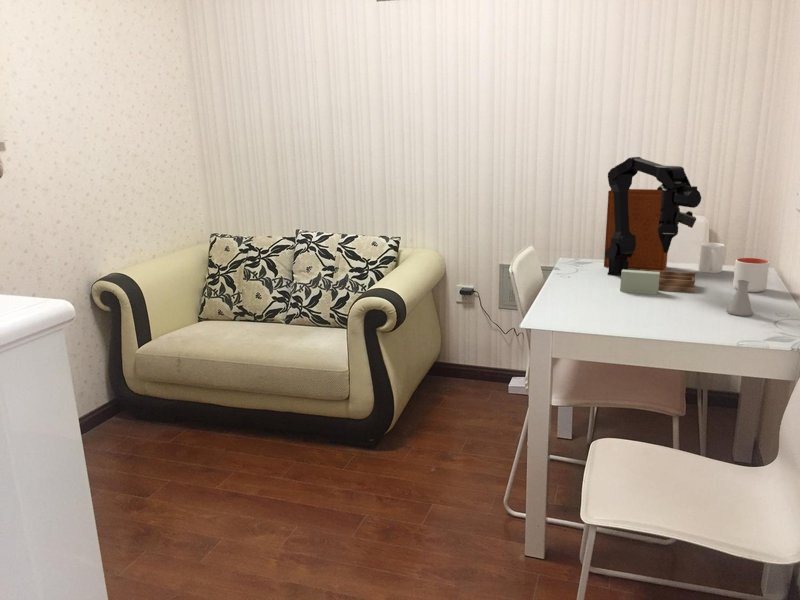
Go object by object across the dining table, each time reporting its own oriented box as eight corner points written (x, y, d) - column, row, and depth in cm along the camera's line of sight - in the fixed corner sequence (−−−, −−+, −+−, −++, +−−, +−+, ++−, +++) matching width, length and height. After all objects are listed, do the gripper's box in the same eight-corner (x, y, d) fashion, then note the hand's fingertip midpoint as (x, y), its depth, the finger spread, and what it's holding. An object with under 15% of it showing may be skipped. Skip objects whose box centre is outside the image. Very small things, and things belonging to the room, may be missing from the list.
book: (603, 266, 264) (608, 190, 257) (606, 262, 272) (610, 188, 264) (665, 270, 256) (672, 192, 248) (666, 266, 263) (673, 189, 255)
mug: (723, 276, 245) (726, 248, 242) (698, 274, 248) (701, 247, 245) (721, 269, 256) (724, 243, 253) (697, 268, 259) (700, 242, 256)
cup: (768, 294, 220) (771, 264, 217) (734, 292, 223) (738, 263, 220) (762, 287, 229) (766, 258, 226) (730, 285, 232) (734, 257, 230)
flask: (753, 311, 201) (757, 279, 198) (752, 318, 195) (756, 284, 192) (727, 308, 204) (731, 277, 202) (724, 314, 198) (728, 282, 196)
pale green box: (620, 291, 227) (621, 271, 225) (621, 289, 231) (622, 269, 229) (657, 294, 222) (659, 274, 221) (658, 292, 226) (659, 271, 224)
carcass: (637, 288, 230) (638, 275, 229) (640, 281, 240) (640, 269, 239) (693, 292, 223) (695, 279, 222) (694, 285, 233) (695, 272, 232)
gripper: (697, 208, 213) (692, 256, 217) (695, 201, 230) (691, 246, 234) (659, 207, 217) (655, 254, 221) (660, 201, 234) (657, 244, 238)
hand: (666, 250), depth 228 cm, fingers open, 9 cm apart
